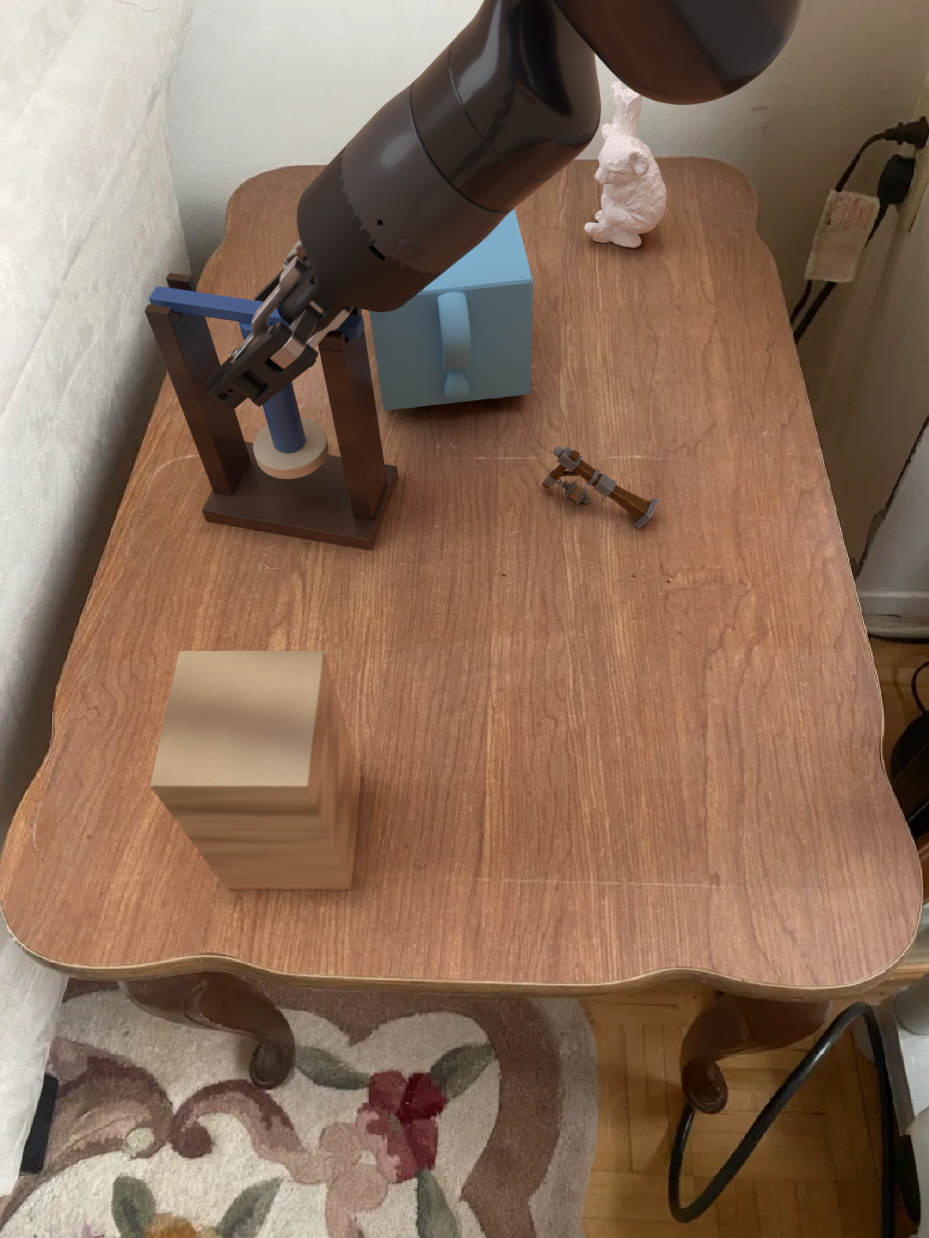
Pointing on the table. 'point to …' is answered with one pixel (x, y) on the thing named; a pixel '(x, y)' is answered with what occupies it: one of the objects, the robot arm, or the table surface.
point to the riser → (261, 768)
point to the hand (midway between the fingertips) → (242, 354)
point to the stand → (241, 491)
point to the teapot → (462, 330)
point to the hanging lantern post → (596, 485)
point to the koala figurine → (626, 177)
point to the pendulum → (287, 437)
